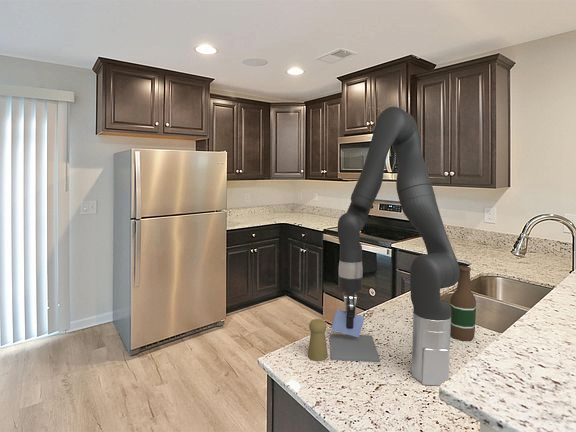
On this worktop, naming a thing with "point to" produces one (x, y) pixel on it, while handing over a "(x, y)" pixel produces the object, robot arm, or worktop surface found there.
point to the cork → (317, 341)
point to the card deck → (340, 324)
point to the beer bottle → (463, 308)
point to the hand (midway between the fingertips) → (349, 326)
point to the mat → (353, 348)
